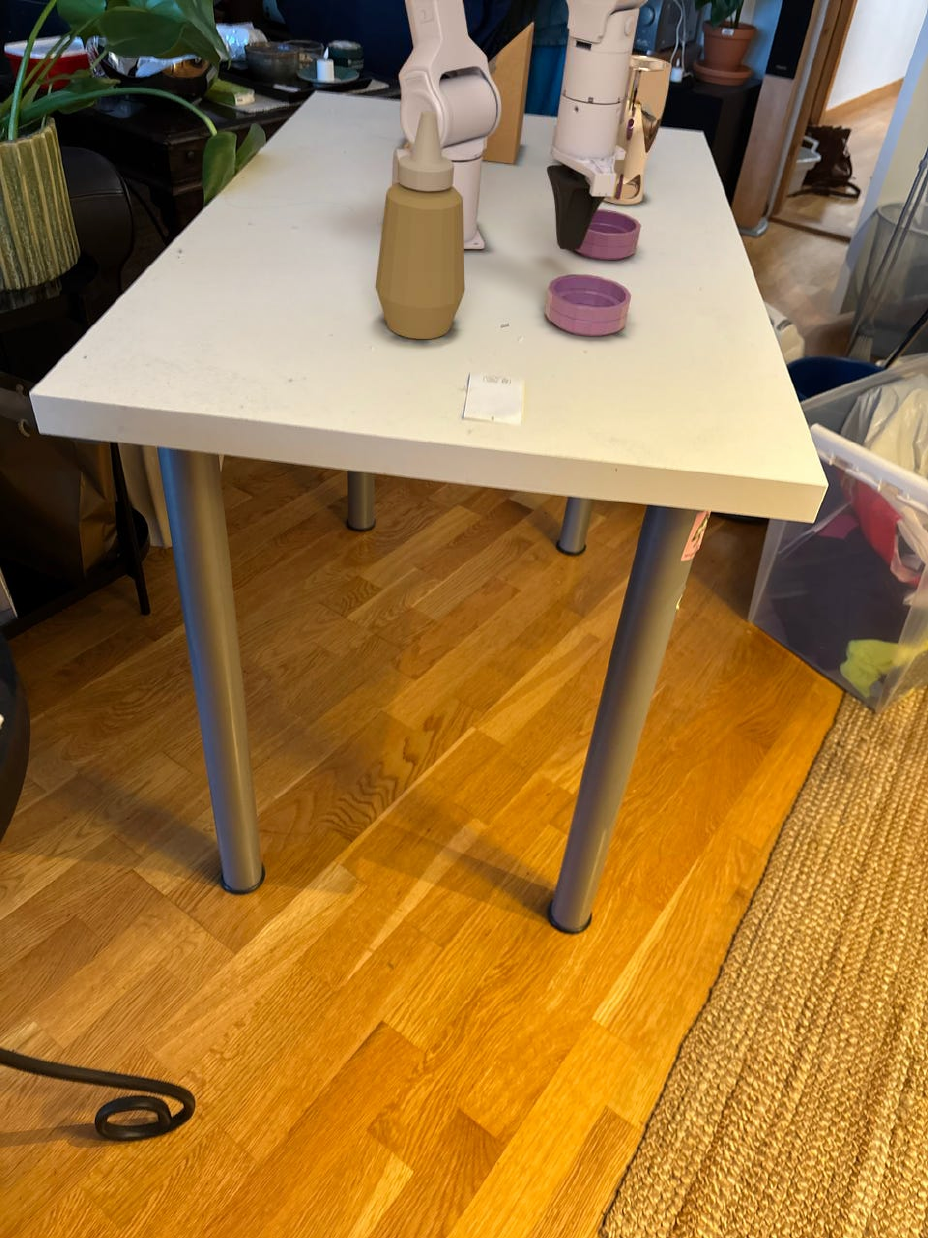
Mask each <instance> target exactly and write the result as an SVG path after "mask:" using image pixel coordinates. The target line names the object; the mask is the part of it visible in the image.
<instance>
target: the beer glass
mask: <svg viewBox="0 0 928 1238" xmlns="http://www.w3.org/2000/svg"><path fill="white" fill-rule="evenodd" d="M671 70H672V64H671V63H669V61H667V60H664V59H660V58H657V57H653V56H646V55H638V54H631V60H630V66H629V71H628V77H627V82H626V88H625V94H624V99H623V104H622V110H621V116H620V122H619V127H618V133H617V138H616V144H615V146H619V147H621V148H623V149H624V150H625V151H626V155H625V159H624V160H616V161H615V163H614V172H615V173H616V175H617V176H616V181H615V187H614V192H613V196H612V197H607V196H606V197H605V198H604V200H603V201H602V202H606V203H610V204H614V205H623V206H624V205H626V206H629V205H630V206H631V205H636V204H637V205H638V204H639V203H640V202H642V200H643V195H644V178H645V177H644V176H645V171H646V166H647V163H648V160H649V157H650V154H651V151H652V149H653V146H654V143H655V141H656V138H657V135H658V133H659V130H660V126H661V124H662V120H663V118H664V117H663V116H664V112H665V109H666V104H667V98H668V93H669V85H670V78H671V77H670V76H671Z"/></svg>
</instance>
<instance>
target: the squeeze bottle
mask: <svg viewBox="0 0 928 1238" xmlns="http://www.w3.org/2000/svg"><path fill="white" fill-rule="evenodd" d="M453 176H454V164H453V162H452V161H451V160H449V159H447V158H445V157H442V154H441V146H440V139H439V132H438V124H437V117H436V113H435V112H433V111H422V112H421V116H420V120H419V124H418V129H417V133H416V137H415V141H414V145H413V150H412V154H408V155H405V156H402V157H400V159H399V161H398V181H399V182H397V183H395V184H394V185H392V184H391V185H390V187H388V189H387V190H386V193H385V198H384V199H385V200H384V209H383V216H382V217H383V218H382V227H381V233H380V234H381V235H380V243H379V252H378V260H377V262H378V263H377V269H376V276H375V277H376V279H375V286H374V287H375V291H376V293H377V297H378V300H379V303H380V306H381V309H382V313H383V315H384V316H383V317H384V318H385V323H386V325H387V328H389V330H390V331H392V332H393V333H395V334H396V335H399V336H402V337H405V338H408V339H417V340H427V339H428V340H429V339H436V338H439V337H442V336H444V335H445V334H447V333H448V332H449V331H450V329H451V326H452V324H453V322H454V319H455V317H456V314H457V312H458V310H459V308H460V305H461V303H462V301H463V298H464V295H465V290H466V289H465V288H466V287H465V249H464V233H463V197H462V196H461V195H460V193H459V192H458V191H457V190H456V189H455V188H454V187H453V186H452V184H453Z"/></svg>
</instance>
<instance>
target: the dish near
mask: <svg viewBox="0 0 928 1238" xmlns="http://www.w3.org/2000/svg"><path fill="white" fill-rule="evenodd" d="M631 299H632V293H631V292H630V291H629V289H628V288H627V287H625V286H624V285H622V284H620V283H619V282H617V281H616V280H612V279H610V278H607V277H604V276H599V275H592V274H585V273H583V274H578V273H577V274H576V273H575V274H574V273H573V274H566V275H561V276H557V277H556V278H554V279H553V280H551V281H550V283H549V286H548V289H547V294H546V303H545V309H544V312H545V315H546V317H547V319H548V320H549V321H550V322H551V323H552V324H554V325H555V326H557V327H558V328H559V329H561V330H563V331H565V332H568V333H571V334H573V335H578V336H584V337H585V336H586V337H602V336H607V335H610V334H613V333H617V332H619V331H620V330H621V329H623V328H624V327H625V326H626V323H627V318H628V314H629V308H630V304H631Z"/></svg>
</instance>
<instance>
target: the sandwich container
mask: <svg viewBox="0 0 928 1238" xmlns="http://www.w3.org/2000/svg"><path fill="white" fill-rule="evenodd" d="M534 28H535V22H534V21H532V22H531V23H530V24H529V25H528V26H526V27H525V28H524V29H523V30H522V31H521V32H520V33H519V34H517V36H515V37H514V38H513V39H511V40H510V42H509V43H508V44H506V45H505V46H504V47H503V48H502V49H501V50H500V51H499V52H498V53H496V55H495V56H494V57H492V59H491V60H489V62H488V68H489V72H490V75H491V78H492V80H493V82H494V83H495V85H496V87H497V89H498V92H499V95H500V99H501V118H500V122H499V125H498V127H497V129H496V130H495V132H494V133H493V134H492V135H491V136H489V137H488V138H487V148H486V149H484V150H483V158H482V161H487V162H493V163H494V162H496V163H503V164H509V165H510V164H511V165H514V164H515V161H516V159H517V157H518V154H519V151H520V147H521V139H522V134H523V133H522V131H523V124H524V116H525V107H526V98H527V90H528V89H527V88H528V81H529V80H528V79H529V71H530V63H531V56H532V55H531V54H532V46H533V37H534ZM405 148H410V144H409V142H408V141H407V140H406V142H405V144H404V146H403V148H402V149H405Z"/></svg>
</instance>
